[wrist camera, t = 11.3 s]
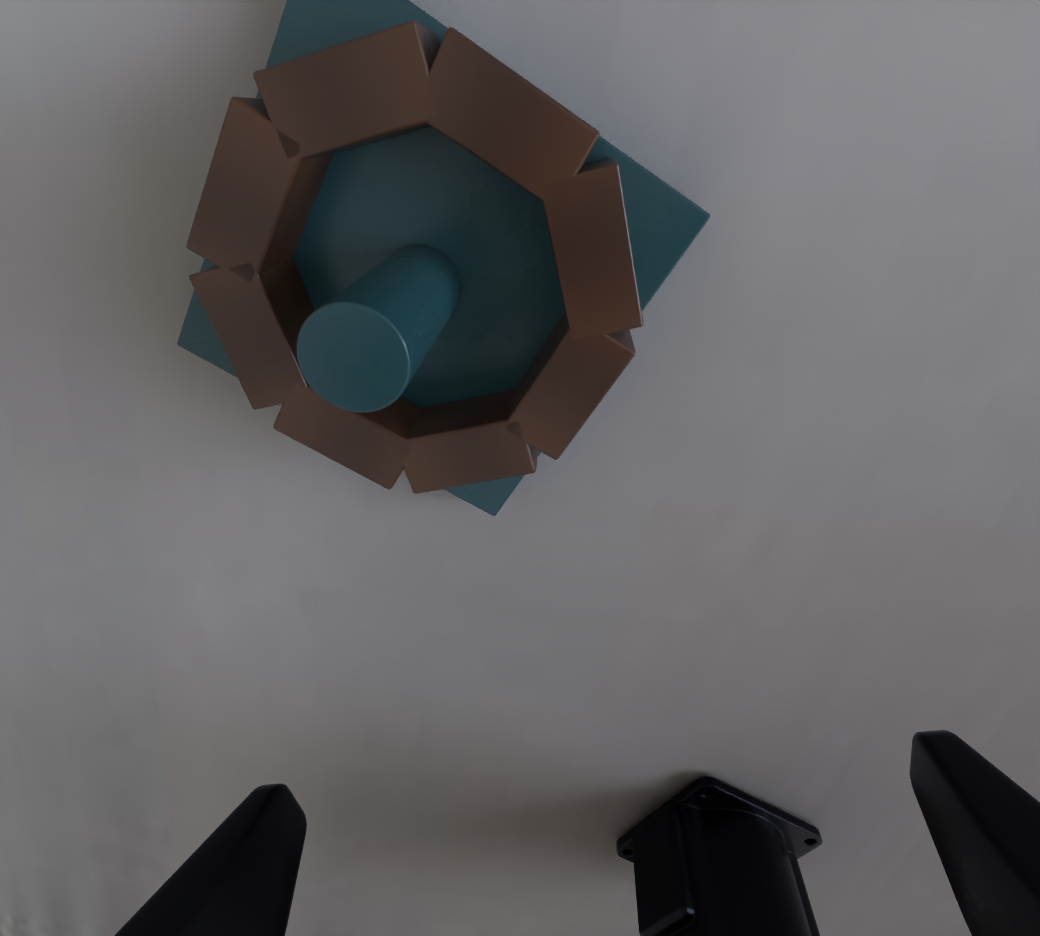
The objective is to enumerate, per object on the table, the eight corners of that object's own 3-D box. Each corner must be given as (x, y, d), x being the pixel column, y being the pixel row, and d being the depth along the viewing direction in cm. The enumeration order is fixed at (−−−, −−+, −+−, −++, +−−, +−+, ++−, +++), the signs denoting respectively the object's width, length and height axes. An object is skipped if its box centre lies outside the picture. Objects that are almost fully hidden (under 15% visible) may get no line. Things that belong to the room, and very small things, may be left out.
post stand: (702, 209, 15) (782, 265, 9) (498, 496, 20) (467, 654, 14) (329, -56, 13) (136, -194, 7) (199, 331, 18) (15, 435, 12)
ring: (712, 212, 14) (731, 225, 12) (501, 506, 18) (493, 546, 17) (326, -61, 12) (285, -92, 10) (193, 338, 17) (148, 364, 15)
